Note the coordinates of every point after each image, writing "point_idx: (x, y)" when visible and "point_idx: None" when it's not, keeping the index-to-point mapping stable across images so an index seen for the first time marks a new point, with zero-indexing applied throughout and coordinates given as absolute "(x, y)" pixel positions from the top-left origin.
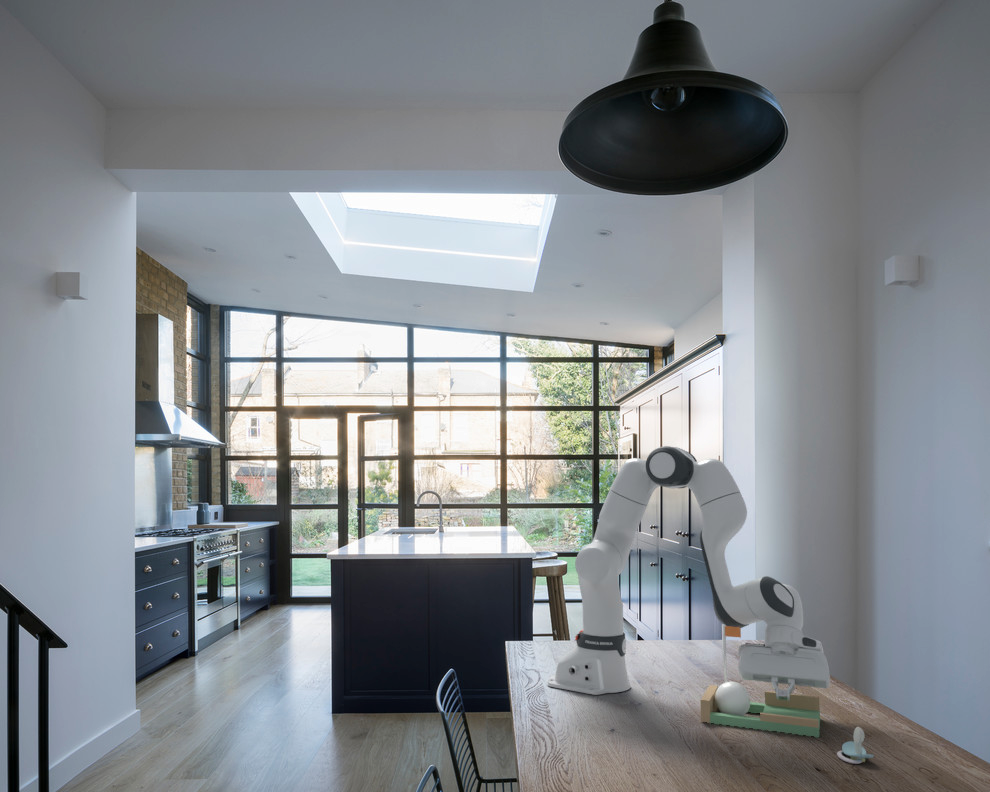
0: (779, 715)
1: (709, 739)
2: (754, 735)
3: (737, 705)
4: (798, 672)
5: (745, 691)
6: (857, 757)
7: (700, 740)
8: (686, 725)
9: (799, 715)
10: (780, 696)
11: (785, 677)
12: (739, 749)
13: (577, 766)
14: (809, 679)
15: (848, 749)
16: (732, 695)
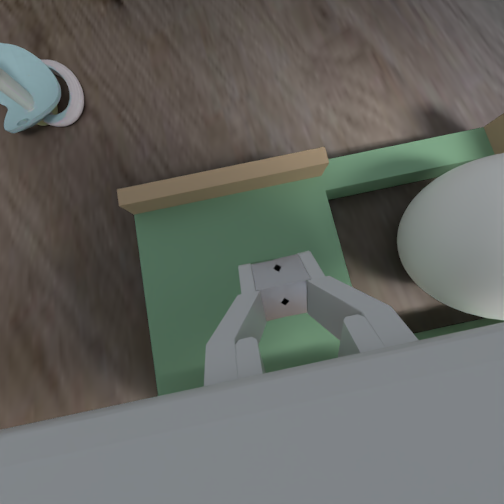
0: (255, 167)
1: (391, 31)
2: (307, 124)
3: (436, 178)
4: (124, 486)
5: (475, 220)
6: (23, 65)
7: (405, 12)
8: (498, 93)
9: (218, 305)
10: (284, 256)
11: (288, 370)
12: (301, 11)
13: None
14: (44, 422)
15: (46, 106)
16: (499, 154)
